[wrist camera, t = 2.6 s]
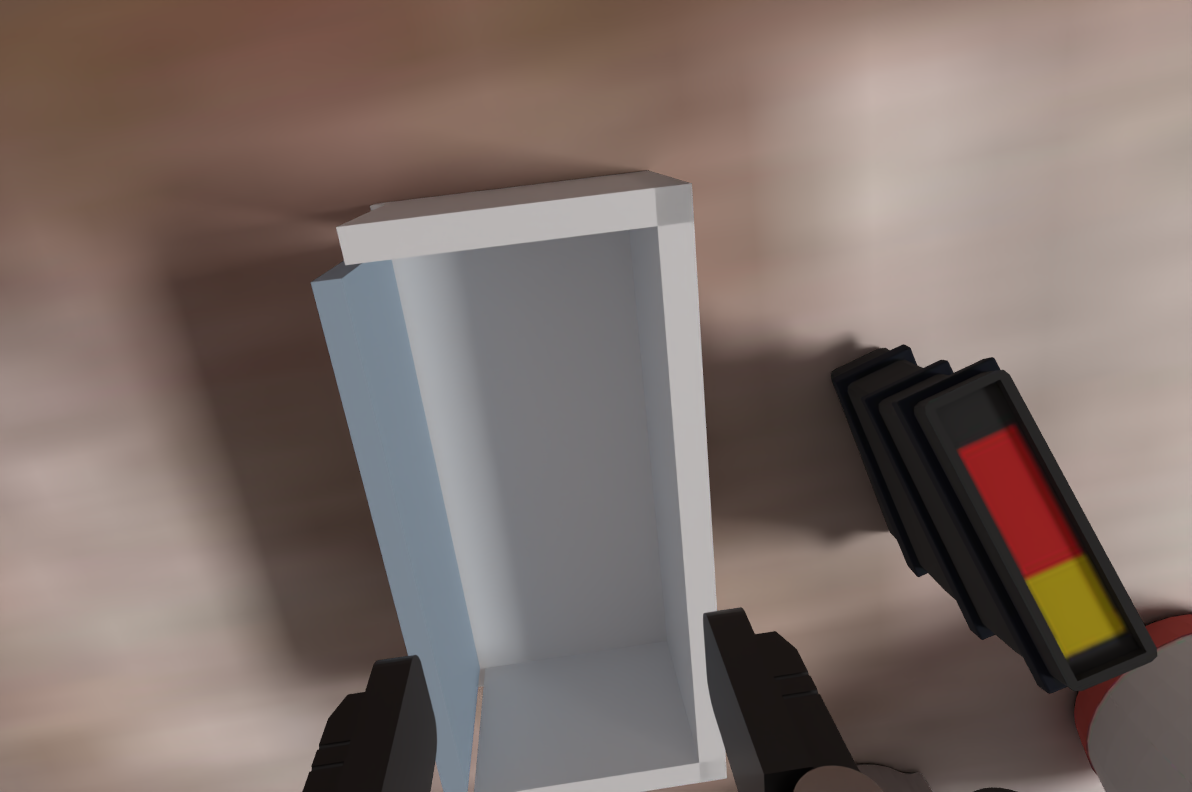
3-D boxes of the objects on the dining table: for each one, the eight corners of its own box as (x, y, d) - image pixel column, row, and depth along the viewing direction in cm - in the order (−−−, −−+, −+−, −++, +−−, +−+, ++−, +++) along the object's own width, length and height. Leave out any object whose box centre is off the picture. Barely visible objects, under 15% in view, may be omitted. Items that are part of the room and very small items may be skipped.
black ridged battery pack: (914, 597, 38) (1068, 708, 23) (804, 381, 39) (883, 355, 24) (979, 568, 38) (1177, 663, 23) (866, 352, 39) (984, 307, 24)
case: (648, 170, 31) (691, 183, 22) (686, 642, 40) (726, 778, 31) (375, 203, 30) (313, 229, 22) (477, 674, 39) (462, 819, 31)
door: (388, 244, 29) (341, 278, 22) (480, 668, 38) (467, 792, 30) (345, 249, 29) (285, 285, 22) (446, 673, 37) (426, 798, 30)
